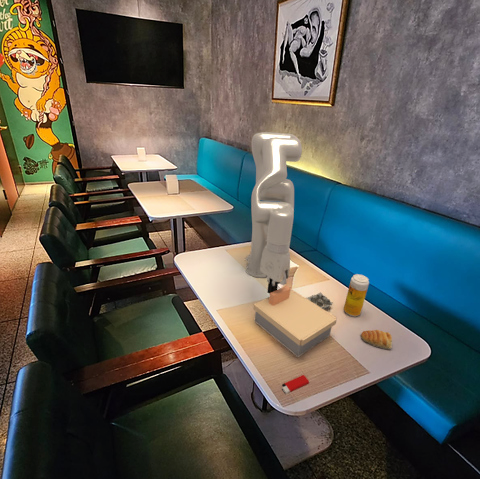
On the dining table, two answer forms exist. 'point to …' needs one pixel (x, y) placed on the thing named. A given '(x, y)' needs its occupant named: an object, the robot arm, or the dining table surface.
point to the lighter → (295, 384)
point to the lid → (295, 315)
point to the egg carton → (321, 301)
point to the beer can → (356, 295)
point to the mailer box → (285, 340)
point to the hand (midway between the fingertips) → (272, 292)
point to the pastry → (377, 338)
